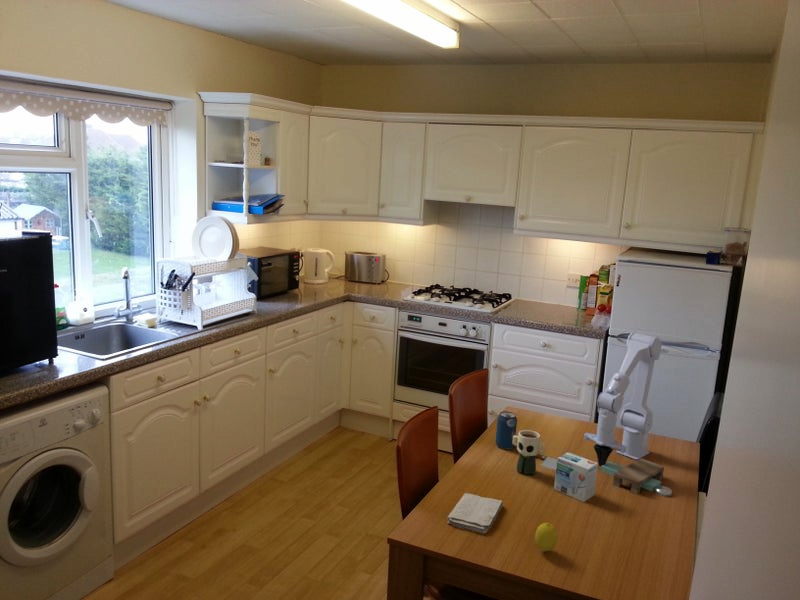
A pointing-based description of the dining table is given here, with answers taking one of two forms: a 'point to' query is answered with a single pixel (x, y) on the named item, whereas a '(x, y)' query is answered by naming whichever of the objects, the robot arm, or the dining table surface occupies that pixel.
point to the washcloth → (475, 513)
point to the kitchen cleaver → (547, 461)
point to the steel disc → (663, 491)
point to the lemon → (546, 537)
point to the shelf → (638, 474)
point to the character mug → (528, 450)
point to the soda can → (506, 429)
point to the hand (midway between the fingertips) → (601, 465)
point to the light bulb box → (575, 476)
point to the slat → (612, 468)
